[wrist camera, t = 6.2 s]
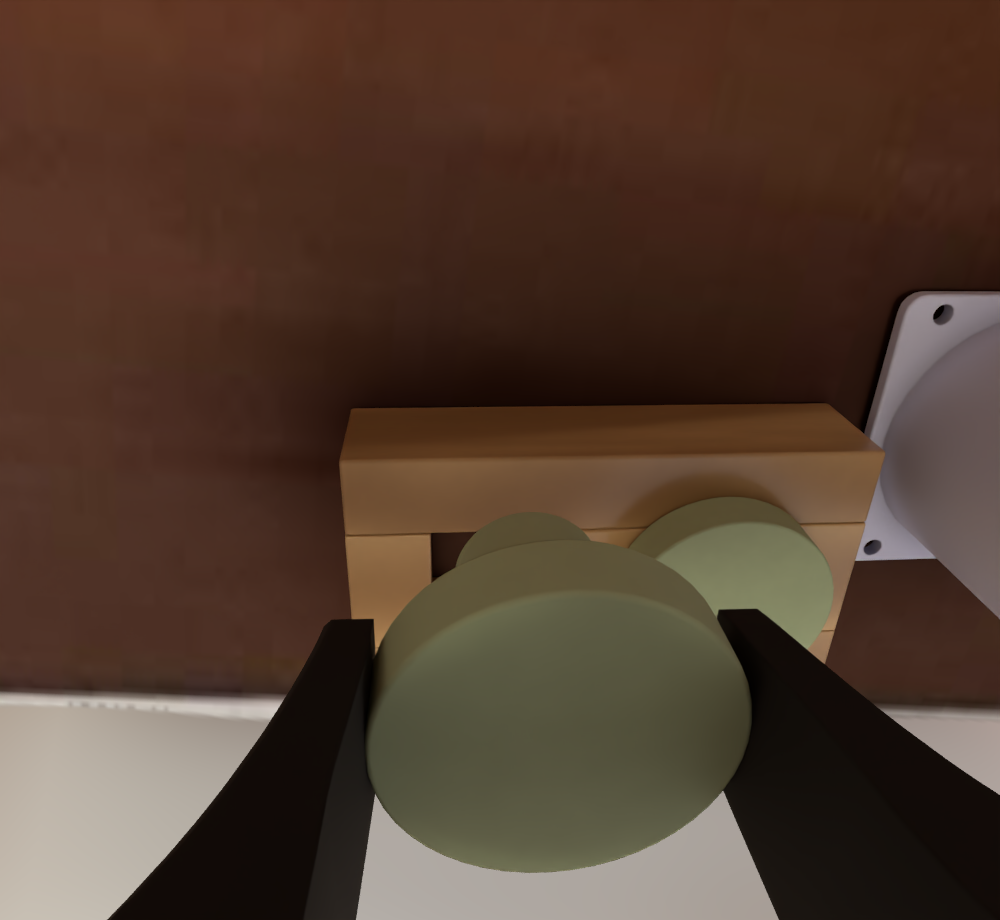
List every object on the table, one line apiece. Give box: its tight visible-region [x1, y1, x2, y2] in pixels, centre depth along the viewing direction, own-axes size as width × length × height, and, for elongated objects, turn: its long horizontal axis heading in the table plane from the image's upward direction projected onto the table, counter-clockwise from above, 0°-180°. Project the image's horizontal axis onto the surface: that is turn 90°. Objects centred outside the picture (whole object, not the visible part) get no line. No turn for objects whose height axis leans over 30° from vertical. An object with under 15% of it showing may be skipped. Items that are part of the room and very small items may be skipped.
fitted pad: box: [628, 497, 834, 649], centre depth 20 cm, size 5×5×4 cm
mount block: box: [339, 403, 885, 664], centre depth 20 cm, size 7×13×3 cm, turn 89°
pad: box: [365, 512, 752, 873], centre depth 12 cm, size 5×5×4 cm
